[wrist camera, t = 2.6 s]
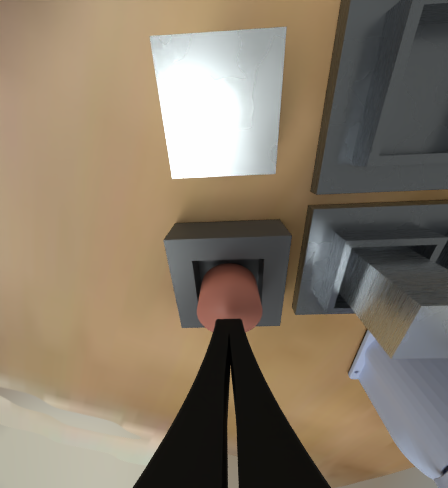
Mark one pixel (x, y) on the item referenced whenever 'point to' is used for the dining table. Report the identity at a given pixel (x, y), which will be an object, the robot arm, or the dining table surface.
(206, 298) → the button
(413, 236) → the pallet
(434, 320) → the billet
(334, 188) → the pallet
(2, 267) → the dining table surface
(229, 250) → the box
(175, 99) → the billet
